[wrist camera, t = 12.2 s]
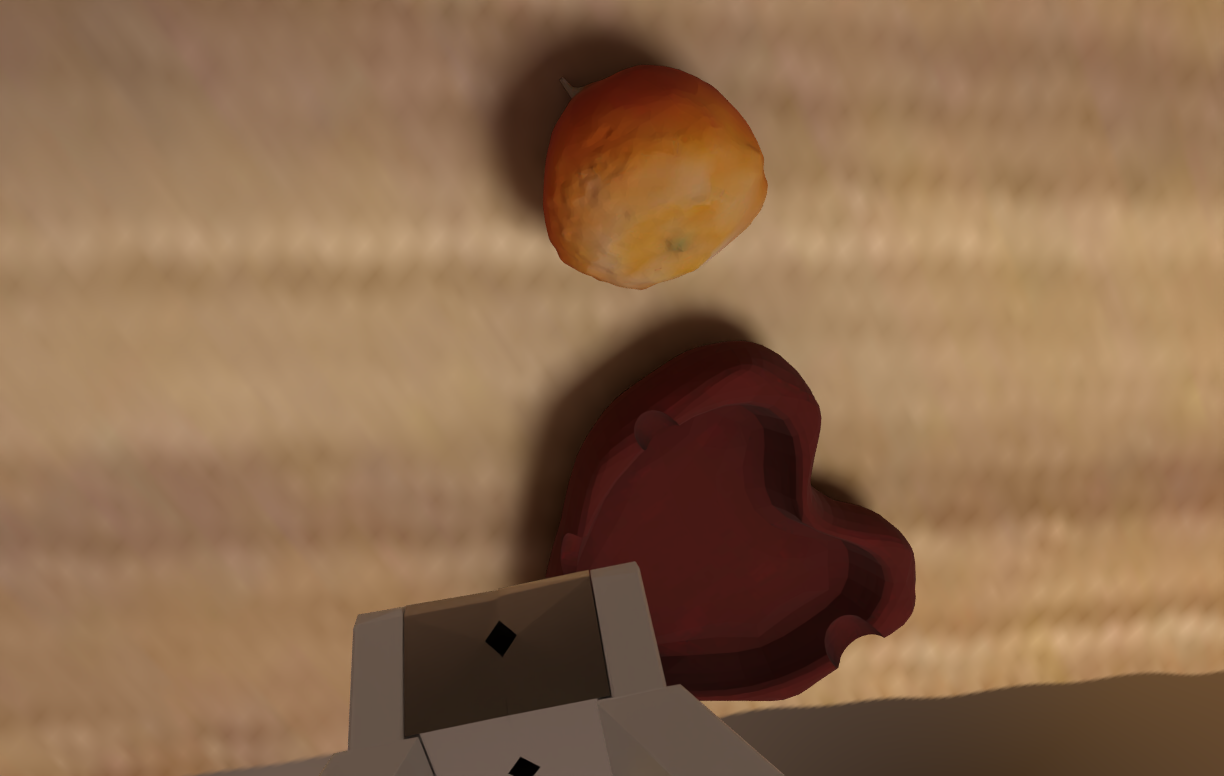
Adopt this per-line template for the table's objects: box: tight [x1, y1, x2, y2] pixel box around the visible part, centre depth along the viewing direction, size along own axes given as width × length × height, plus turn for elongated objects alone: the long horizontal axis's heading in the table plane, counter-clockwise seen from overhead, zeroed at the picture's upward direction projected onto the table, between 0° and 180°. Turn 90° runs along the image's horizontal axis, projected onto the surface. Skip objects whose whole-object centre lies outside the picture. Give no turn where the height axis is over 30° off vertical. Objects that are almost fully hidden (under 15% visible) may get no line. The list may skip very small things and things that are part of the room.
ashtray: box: [545, 341, 916, 701], centre depth 49 cm, size 18×16×5 cm
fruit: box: [543, 65, 768, 290], centre depth 40 cm, size 8×8×8 cm
